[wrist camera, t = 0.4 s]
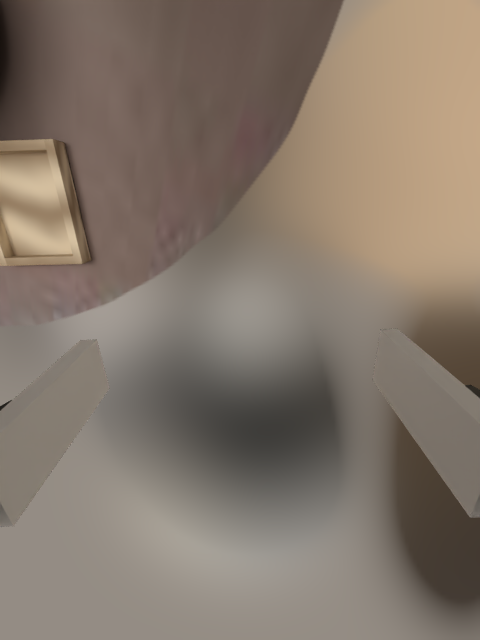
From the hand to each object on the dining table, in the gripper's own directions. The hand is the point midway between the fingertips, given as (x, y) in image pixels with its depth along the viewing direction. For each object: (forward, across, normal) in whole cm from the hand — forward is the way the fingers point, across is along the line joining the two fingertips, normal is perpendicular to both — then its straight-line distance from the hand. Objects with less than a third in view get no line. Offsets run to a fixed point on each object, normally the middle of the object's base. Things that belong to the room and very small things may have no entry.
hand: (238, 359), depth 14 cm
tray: (+28, -26, +7) cm, 39 cm away
